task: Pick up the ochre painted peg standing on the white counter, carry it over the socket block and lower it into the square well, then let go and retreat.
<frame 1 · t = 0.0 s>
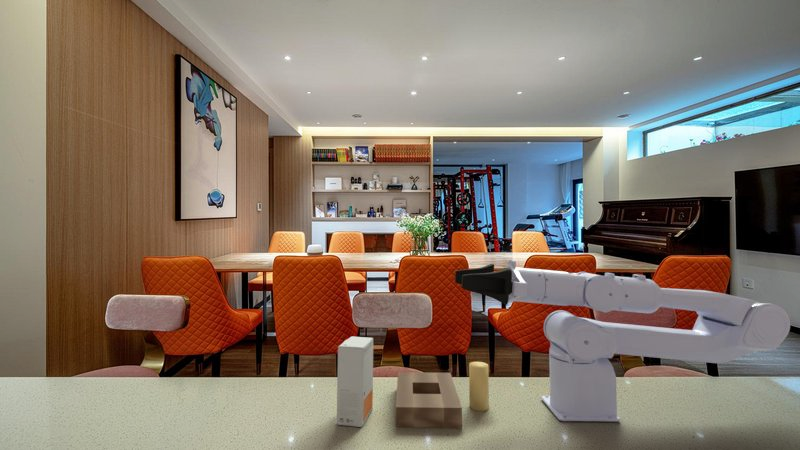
hand: (458, 278, 60), 22 cm above the countertop, tool horizontal, fingers open, 7 cm apart
socket block: (426, 405, 60), on the countertop
skincare box: (355, 418, 57), on the countertop
peg: (479, 406, 60), on the countertop
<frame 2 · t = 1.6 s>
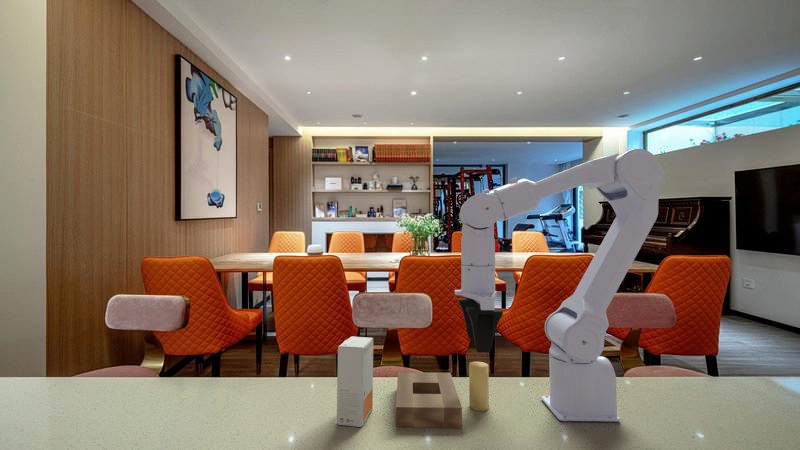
hand: (478, 344, 61), 10 cm above the countertop, tool pointing down, fingers open, 7 cm apart
nothing on the countertop moved.
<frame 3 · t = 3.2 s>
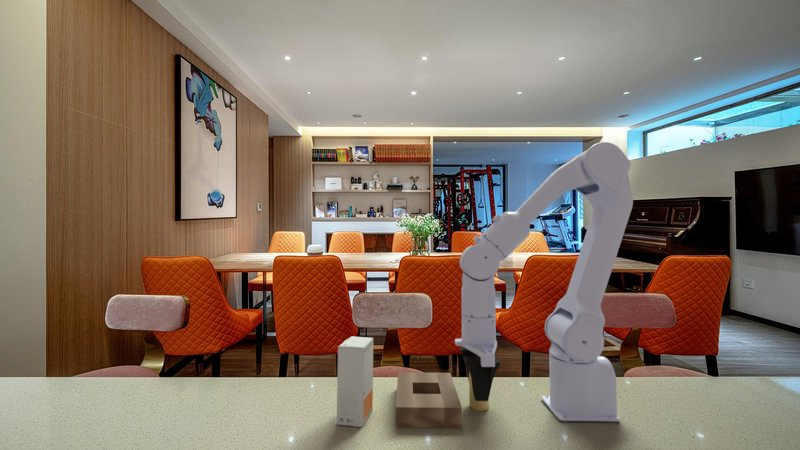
hand: (478, 395, 60), 2 cm above the countertop, tool pointing down, fingers closed on peg, 3 cm apart
peg: (479, 406, 60), on the countertop, touching gripper
everything else where it was.
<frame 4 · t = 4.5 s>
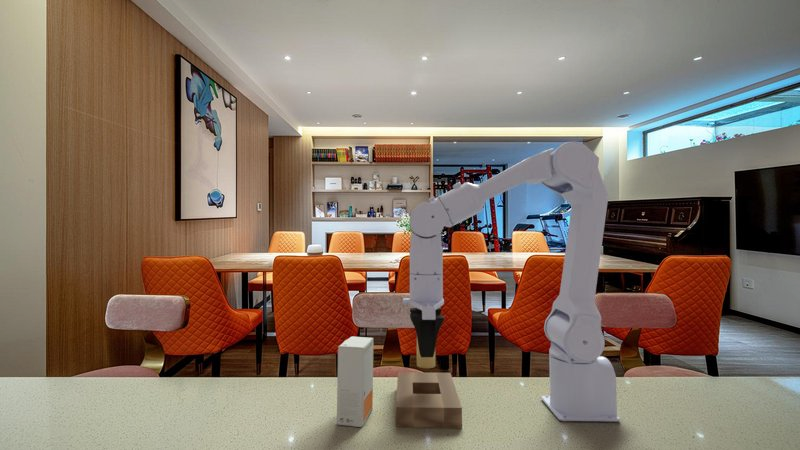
hand: (426, 352, 61), 9 cm above the countertop, tool pointing down, fingers closed on peg, 3 cm apart
peg: (425, 365, 61), point 7 cm above the countertop, touching gripper
everything else where it was.
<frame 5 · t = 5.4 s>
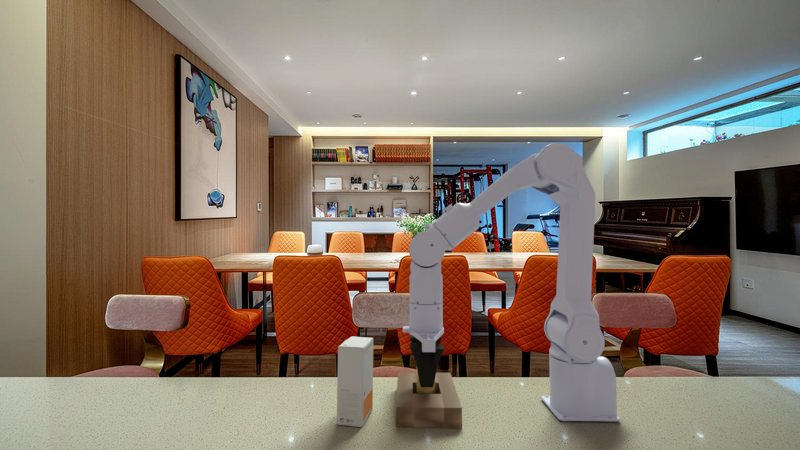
hand: (426, 381, 61), 4 cm above the countertop, tool pointing down, fingers closed on peg, 3 cm apart
peg: (425, 393, 61), point 2 cm above the countertop, touching gripper
everything else where it was.
when the fingers open (4 cm above the countertop, at t = 5.7 s): peg drops 1 cm, resting on socket block.
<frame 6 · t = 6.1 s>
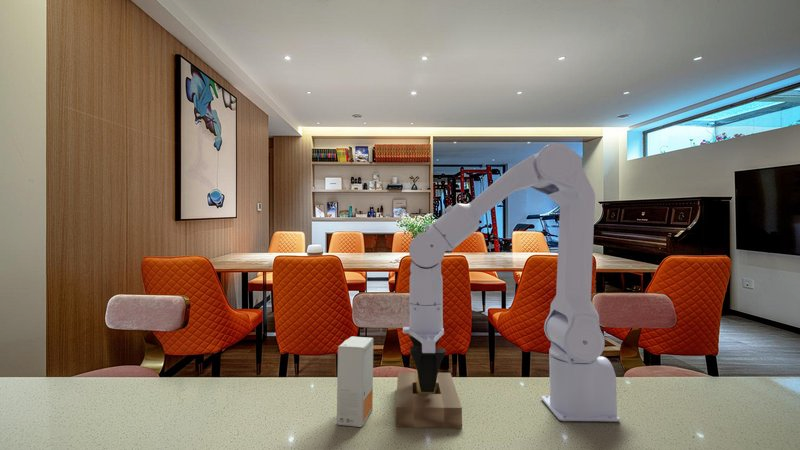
hand: (426, 382, 61), 4 cm above the countertop, tool pointing down, fingers open, 6 cm apart
peg: (425, 402, 60), point 1 cm above the countertop, touching socket block
everything else where it was.
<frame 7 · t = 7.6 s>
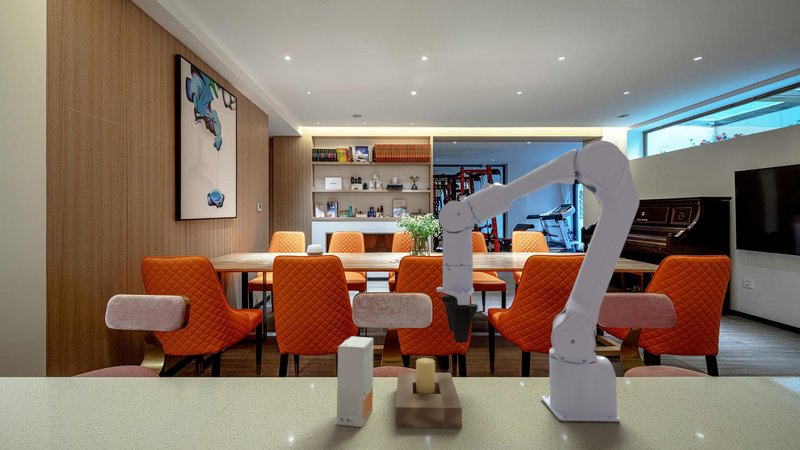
hand: (458, 336, 68), 10 cm above the countertop, tool pointing down, fingers open, 7 cm apart
nothing on the countertop moved.
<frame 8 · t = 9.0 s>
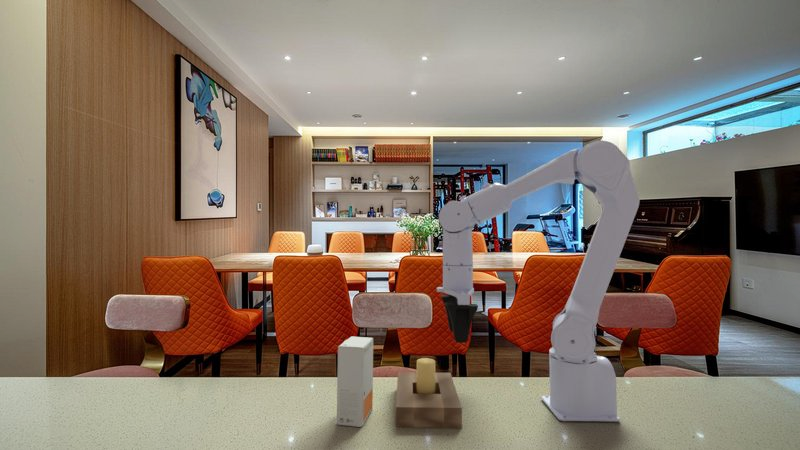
hand: (458, 336, 68), 10 cm above the countertop, tool pointing down, fingers open, 7 cm apart
nothing on the countertop moved.
at the end: peg 0.0 cm off-centre on the socket block, point 0.5 cm above the socket block's base; peg tilted 1°; the gripper is holding nothing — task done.
